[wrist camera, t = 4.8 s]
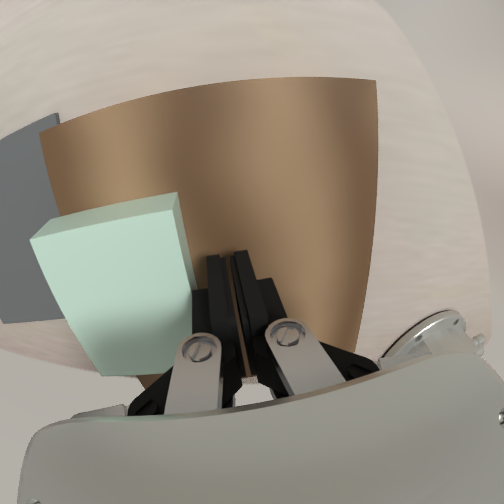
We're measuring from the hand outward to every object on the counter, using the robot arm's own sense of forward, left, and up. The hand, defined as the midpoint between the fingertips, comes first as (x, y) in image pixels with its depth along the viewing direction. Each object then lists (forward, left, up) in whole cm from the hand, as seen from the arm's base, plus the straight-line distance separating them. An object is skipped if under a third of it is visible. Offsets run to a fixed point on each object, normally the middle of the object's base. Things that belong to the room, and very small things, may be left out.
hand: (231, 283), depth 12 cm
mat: (+14, -2, -5) cm, 15 cm away
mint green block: (+5, 0, -1) cm, 5 cm away
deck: (0, 0, -5) cm, 5 cm away
